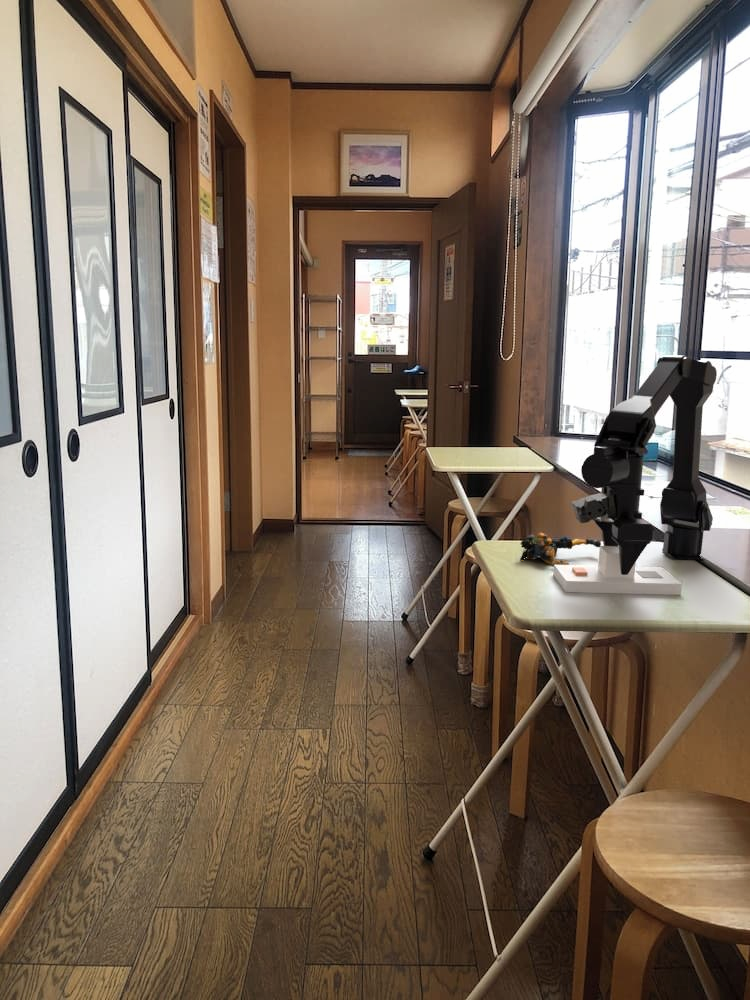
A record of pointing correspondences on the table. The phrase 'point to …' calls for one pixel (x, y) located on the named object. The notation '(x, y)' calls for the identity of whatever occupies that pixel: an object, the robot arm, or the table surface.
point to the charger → (612, 563)
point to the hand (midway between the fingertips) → (616, 566)
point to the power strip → (616, 581)
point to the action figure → (550, 547)
